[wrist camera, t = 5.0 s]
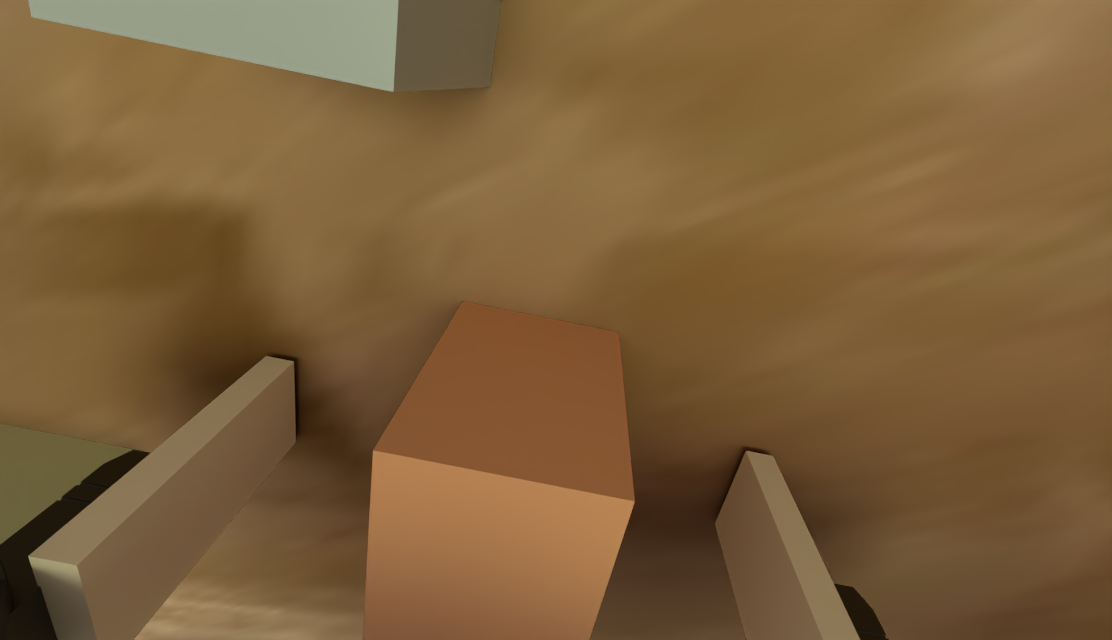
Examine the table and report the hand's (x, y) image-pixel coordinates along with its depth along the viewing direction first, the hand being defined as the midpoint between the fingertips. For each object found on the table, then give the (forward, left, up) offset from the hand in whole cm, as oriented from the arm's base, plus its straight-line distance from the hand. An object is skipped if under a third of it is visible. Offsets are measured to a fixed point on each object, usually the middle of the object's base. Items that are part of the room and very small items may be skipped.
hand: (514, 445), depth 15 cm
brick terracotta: (0, 0, 0) cm, 0 cm away
